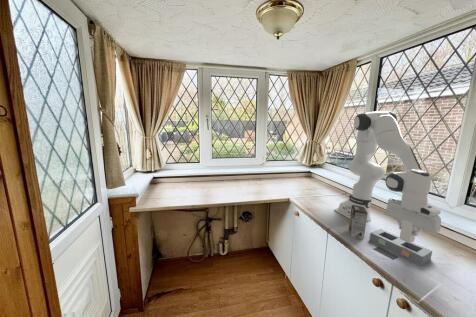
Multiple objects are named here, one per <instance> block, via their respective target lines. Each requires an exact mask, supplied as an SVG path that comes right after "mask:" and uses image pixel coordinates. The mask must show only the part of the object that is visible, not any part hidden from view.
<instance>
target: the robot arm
mask: <svg viewBox="0 0 476 317" xmlns="http://www.w3.org/2000/svg"><path fill="white" fill-rule="evenodd" d="M353 127H354V128H355V130H356V131H357V133H356V134H357V135H356V148H355V150H356V151H355V154H354V157H353V159H352V160H351V161H350V162H349V164H348V170H349V172H351V173H352V174H354V175H356V176H359V179H358V181H357V182H355V183H354V184H353V186H352V194H349V195H348V199H346V200H343V201H342V202H340V203H339V204H338V206H336V207H335V208H334V211H335V212H337V213H338V214H340V215H342V216H344V217H346V218H347V219H349V220H350V215H351V208H352V205H356V206H361V207H364V208H365V210H366V211H367V213H368V214H367V221H366V222H369V221H371V220H372V218H371V207H372V200H373V199H372V196H373V191H374V190H373V189H374V186H375V185H376V184H377V183H378V181H381V180H382V179H383V178H384V177H385V174H386V171H385V168H384V167H383V166H381V165H380V164H377V163H374V162H372V161H371V159H372V157H373V156H374V155H375V154H376V153H377V150H378V148H377V147H379V148H380V149H381V150H382V151H385V152H386V153H391V154H393V155H394V156H396V157H398V158H399V159H400V160H401V162H402V165H403V166H404V169H405V171H400V172H399V171H398V172H390V173H388V174H387V176H386V177H385V186H386V187H387V189H388V190H389V191H392V192H396V193H401V195H402V196H401V200H400V199H396V198H394V197H391V198H389V199H388V201H387V206H386V209H385V214H386V216H387V217H391V218H393V219H396V220H397V221H396V222H397V224H398V226H399V227H398V229H399V230H401V227H402V221H403V220H406V221H409V222H411V223H413V226H416V231H415V230H414V231H413V232H412V234H413V235H415V237H416V236H418V235H419V233H420V232H421V231H423V230H424V231H425V232H429V233H431V234H437V233H439V232H440V231H441V227H442V218H441V217H440V215H441V213H442V212H441V210H440V209H439V208H437V207H436V206H433V205H432V204H430V203H428V195H429V193H430V189H431V184H432V179H431V178H432V177H431V174H430V173H429V172H428V171H425V170H422V167H421V165H420V163H419V160H418V159H417V156H416V155H415V153H414V150H413V149H412V148H413V147H411V146H410V145H409V144H408V143H407V142H406V140H405V139H404V137H403V135H402V133H401V129H400V126H399V124H398V116H397V114H396V112H394V111H389V110H385V111H384V110H383V111H379V110H378V111H377V110H376V111H369V112H363V113H358V114H357V115H356V116H355V117H354V119H353Z"/></svg>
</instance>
